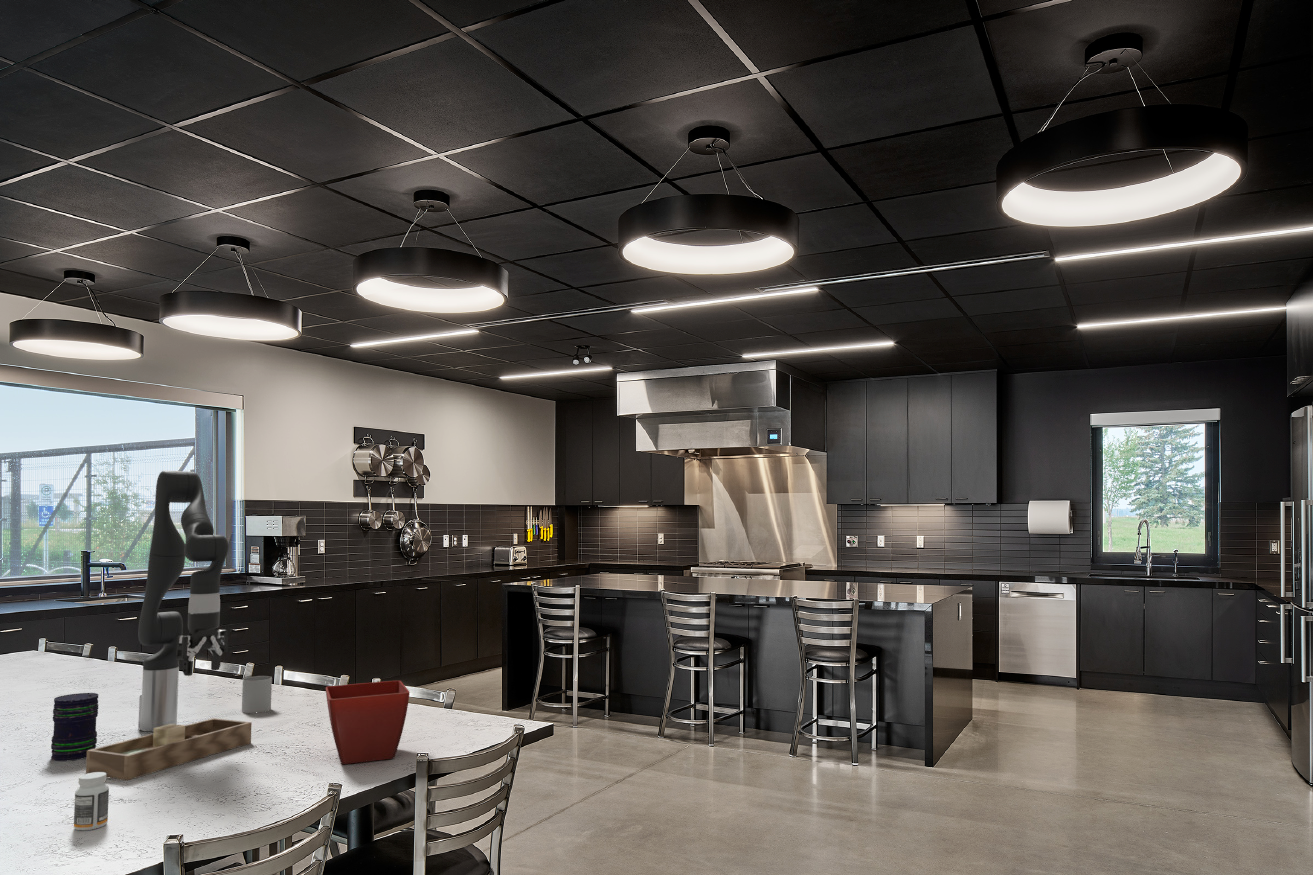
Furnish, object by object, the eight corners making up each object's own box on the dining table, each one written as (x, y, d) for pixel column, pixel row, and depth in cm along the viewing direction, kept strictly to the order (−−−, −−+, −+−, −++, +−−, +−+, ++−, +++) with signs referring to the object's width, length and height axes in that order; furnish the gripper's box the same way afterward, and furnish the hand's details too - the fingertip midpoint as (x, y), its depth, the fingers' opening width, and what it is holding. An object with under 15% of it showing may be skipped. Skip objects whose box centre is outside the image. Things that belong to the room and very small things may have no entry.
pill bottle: (99, 819, 179) (101, 769, 180) (112, 825, 176) (115, 773, 177) (68, 827, 174) (70, 776, 175) (81, 833, 171) (83, 780, 172)
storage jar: (47, 763, 221) (50, 702, 222) (53, 753, 229) (56, 695, 231) (94, 757, 225) (97, 698, 226) (98, 748, 234) (101, 691, 235)
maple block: (152, 748, 222) (153, 728, 223) (170, 743, 227) (171, 723, 227) (166, 750, 220) (167, 729, 221) (184, 745, 225) (185, 725, 225)
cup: (259, 713, 274) (260, 681, 275) (235, 712, 276) (237, 680, 277) (276, 708, 282) (277, 676, 283) (253, 707, 284) (254, 675, 285)
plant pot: (323, 751, 230) (325, 685, 232) (399, 743, 238) (400, 679, 239) (327, 770, 213) (329, 699, 214) (409, 761, 220) (410, 692, 222)
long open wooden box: (212, 738, 244) (213, 718, 244) (250, 742, 239) (251, 722, 239) (85, 774, 211) (86, 750, 211) (126, 780, 206) (127, 756, 206)
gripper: (216, 607, 243) (213, 667, 241) (170, 612, 229) (167, 676, 228) (236, 608, 240) (234, 669, 238) (191, 613, 227) (188, 678, 225)
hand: (201, 672), depth 233 cm, fingers open, 8 cm apart
